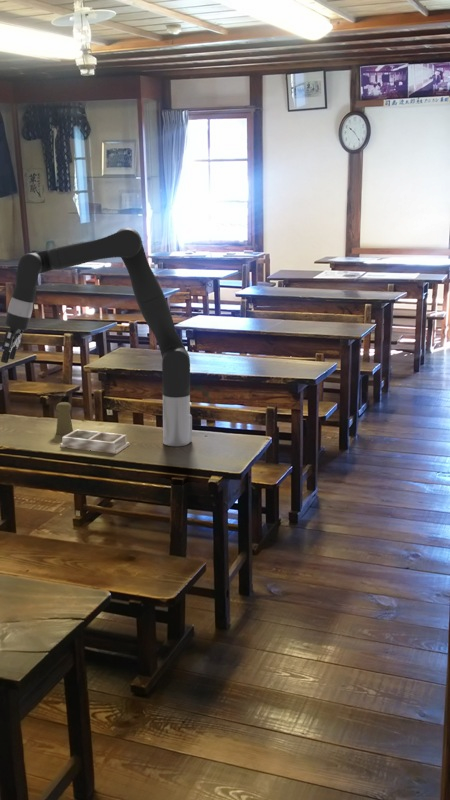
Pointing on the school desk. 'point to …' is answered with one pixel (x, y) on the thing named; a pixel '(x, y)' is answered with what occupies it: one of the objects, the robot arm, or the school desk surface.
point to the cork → (64, 419)
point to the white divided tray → (95, 441)
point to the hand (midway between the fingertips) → (7, 360)
